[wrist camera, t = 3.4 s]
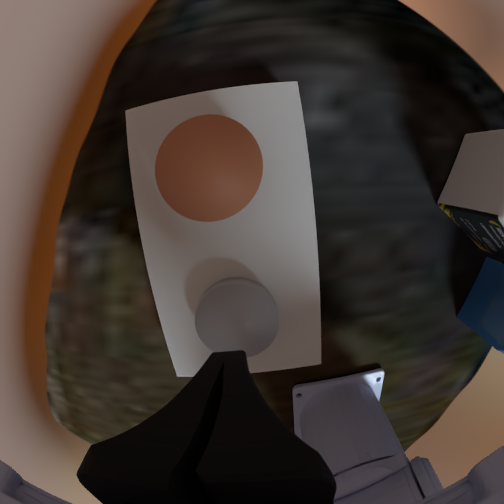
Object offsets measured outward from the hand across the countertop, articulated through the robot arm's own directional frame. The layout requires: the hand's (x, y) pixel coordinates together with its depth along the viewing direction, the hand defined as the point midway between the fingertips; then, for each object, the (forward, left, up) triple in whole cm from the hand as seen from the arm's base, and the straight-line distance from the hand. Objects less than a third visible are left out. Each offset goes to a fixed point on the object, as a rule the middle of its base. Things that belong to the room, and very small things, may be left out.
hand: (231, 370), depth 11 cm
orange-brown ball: (+8, 0, -6) cm, 10 cm away
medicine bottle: (+6, -20, -9) cm, 22 cm away
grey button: (0, 0, -8) cm, 8 cm away
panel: (+4, 0, -8) cm, 9 cm away
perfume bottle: (-4, -23, -9) cm, 25 cm away
